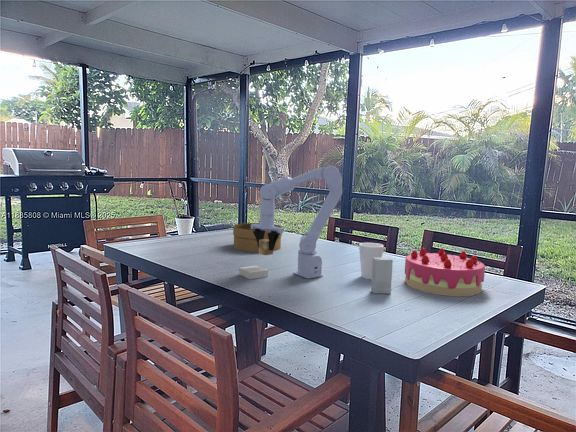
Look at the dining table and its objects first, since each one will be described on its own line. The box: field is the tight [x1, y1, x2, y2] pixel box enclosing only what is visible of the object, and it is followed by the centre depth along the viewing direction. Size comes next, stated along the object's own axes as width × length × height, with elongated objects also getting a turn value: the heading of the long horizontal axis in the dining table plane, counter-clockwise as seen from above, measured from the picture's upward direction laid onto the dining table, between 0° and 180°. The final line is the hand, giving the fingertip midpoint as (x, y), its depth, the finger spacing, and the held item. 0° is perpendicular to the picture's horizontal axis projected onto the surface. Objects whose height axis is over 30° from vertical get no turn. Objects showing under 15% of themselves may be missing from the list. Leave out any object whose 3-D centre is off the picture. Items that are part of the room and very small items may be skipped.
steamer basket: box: [232, 222, 283, 253], centre depth 217 cm, size 25×25×11 cm
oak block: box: [258, 239, 274, 256], centre depth 166 cm, size 4×4×6 cm
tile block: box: [238, 265, 269, 280], centre depth 162 cm, size 8×8×3 cm
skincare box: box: [370, 257, 394, 295], centre depth 146 cm, size 6×4×12 cm
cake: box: [404, 247, 486, 297], centre depth 158 cm, size 28×28×12 cm
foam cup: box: [358, 242, 385, 280], centre depth 166 cm, size 10×9×13 cm
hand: (266, 249), depth 166 cm, fingers closed on oak block, 5 cm apart
